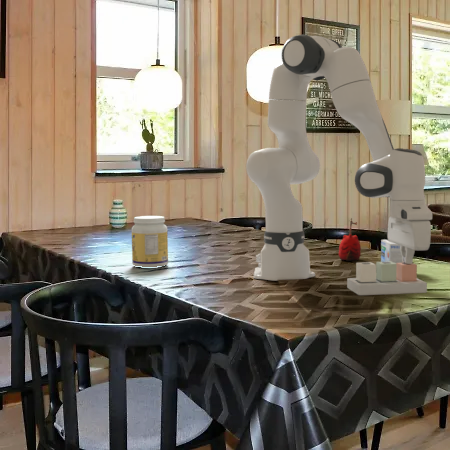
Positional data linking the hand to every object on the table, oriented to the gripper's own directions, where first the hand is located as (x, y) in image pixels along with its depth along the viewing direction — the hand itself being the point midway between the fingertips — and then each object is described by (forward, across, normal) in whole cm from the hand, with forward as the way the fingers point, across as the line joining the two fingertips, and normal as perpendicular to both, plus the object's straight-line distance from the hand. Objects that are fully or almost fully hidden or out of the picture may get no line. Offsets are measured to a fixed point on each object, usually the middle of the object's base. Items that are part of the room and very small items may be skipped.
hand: (407, 263), depth 172 cm
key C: (+5, 0, 0) cm, 5 cm away
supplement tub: (+8, -58, -68) cm, 89 cm away
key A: (+4, 0, -11) cm, 12 cm away
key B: (+4, 0, -6) cm, 7 cm away
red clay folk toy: (+8, -56, +2) cm, 57 cm away
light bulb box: (+8, -23, +6) cm, 25 cm away
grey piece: (+8, 0, -6) cm, 10 cm away
